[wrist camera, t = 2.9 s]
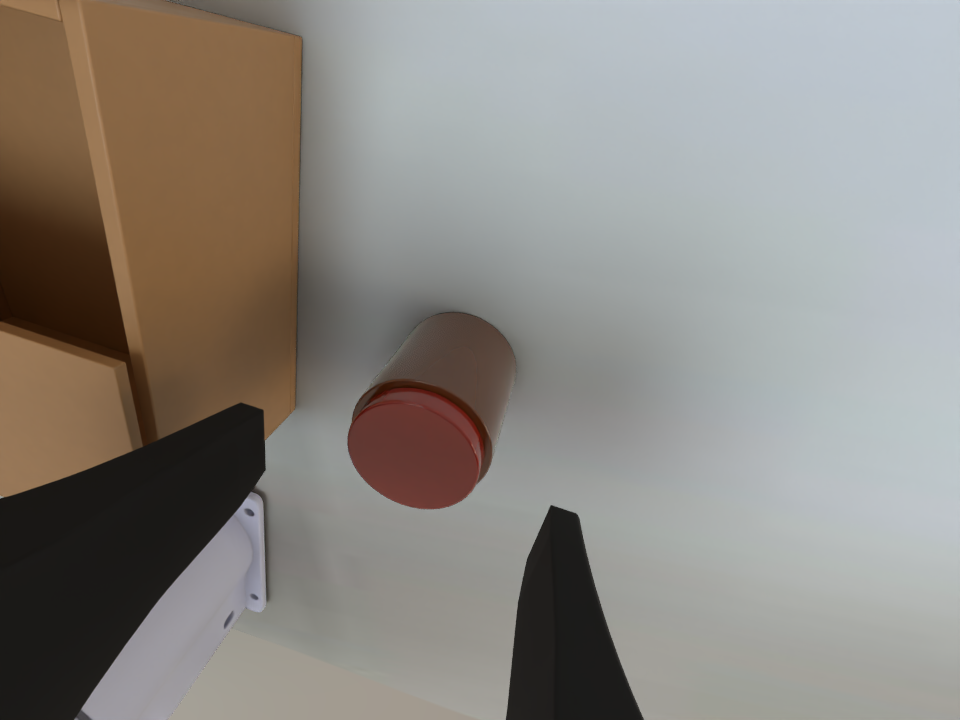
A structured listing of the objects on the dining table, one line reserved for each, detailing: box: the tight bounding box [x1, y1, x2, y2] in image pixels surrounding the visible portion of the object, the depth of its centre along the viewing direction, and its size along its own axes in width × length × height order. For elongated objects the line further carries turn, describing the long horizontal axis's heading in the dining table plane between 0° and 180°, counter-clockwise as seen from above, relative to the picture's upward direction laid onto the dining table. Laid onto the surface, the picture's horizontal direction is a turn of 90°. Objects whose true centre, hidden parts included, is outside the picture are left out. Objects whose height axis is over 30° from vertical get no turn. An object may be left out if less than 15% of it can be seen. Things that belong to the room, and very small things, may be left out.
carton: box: [0, 0, 302, 497], centre depth 13 cm, size 13×13×7 cm
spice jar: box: [348, 312, 516, 509], centre depth 14 cm, size 4×4×5 cm
